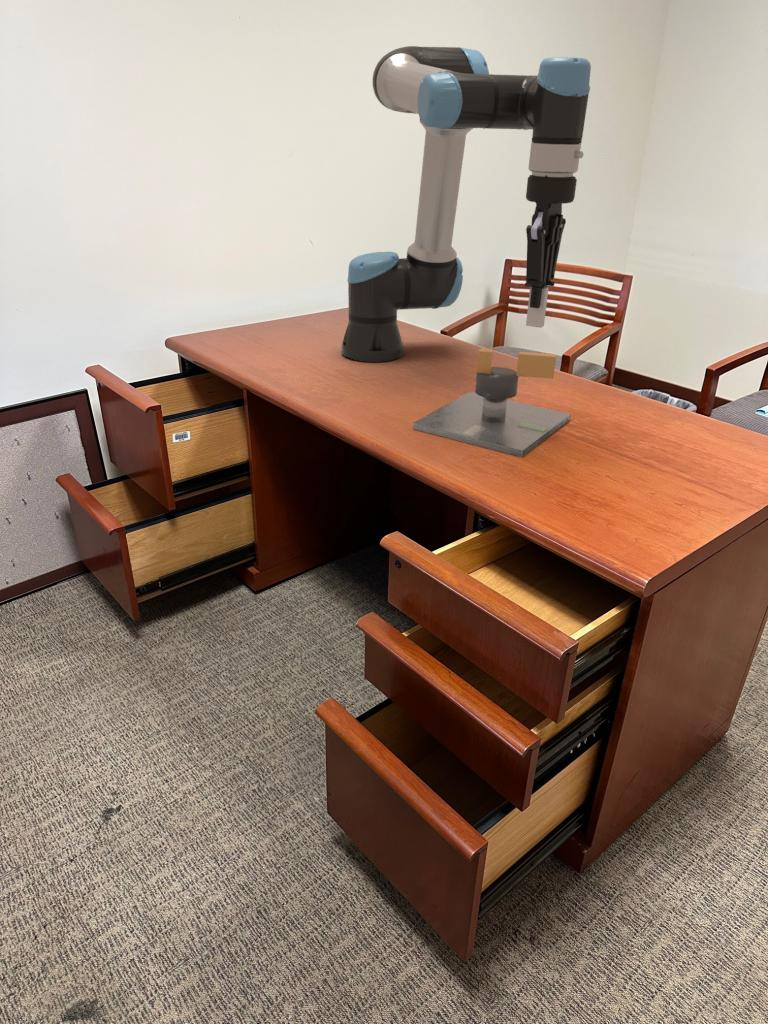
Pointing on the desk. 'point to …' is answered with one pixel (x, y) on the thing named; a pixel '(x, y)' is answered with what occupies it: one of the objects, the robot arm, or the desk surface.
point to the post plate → (493, 423)
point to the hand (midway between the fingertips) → (534, 325)
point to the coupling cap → (510, 373)
